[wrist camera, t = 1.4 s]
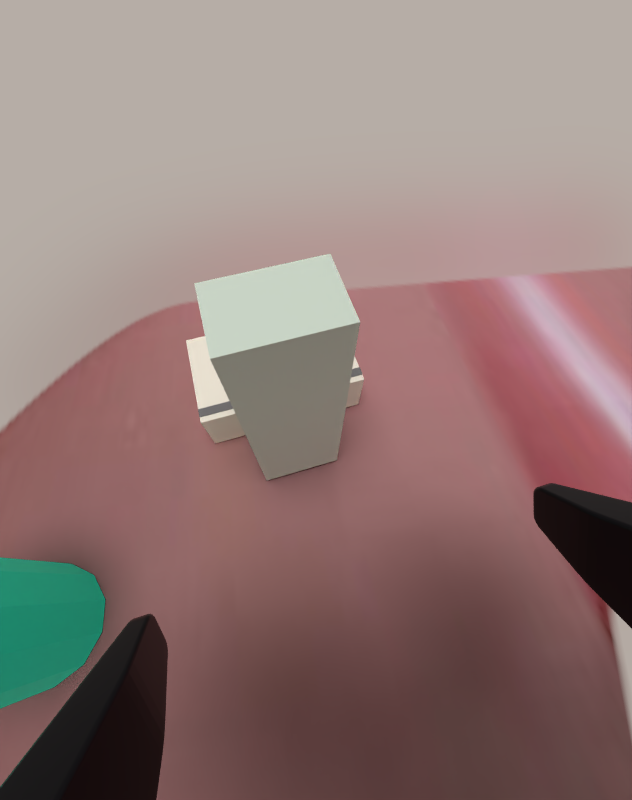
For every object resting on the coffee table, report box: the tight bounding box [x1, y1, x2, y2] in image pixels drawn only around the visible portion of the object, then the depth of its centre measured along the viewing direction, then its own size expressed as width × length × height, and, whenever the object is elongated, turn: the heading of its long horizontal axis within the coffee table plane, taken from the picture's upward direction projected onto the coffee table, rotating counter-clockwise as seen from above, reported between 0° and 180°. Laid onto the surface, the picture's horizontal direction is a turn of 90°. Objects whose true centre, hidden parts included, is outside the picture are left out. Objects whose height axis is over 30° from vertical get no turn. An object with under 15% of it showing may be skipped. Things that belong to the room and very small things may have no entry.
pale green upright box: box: [195, 254, 360, 480], centre depth 18 cm, size 3×5×14 cm
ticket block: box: [186, 336, 364, 443], centre depth 25 cm, size 6×10×4 cm, turn 107°
